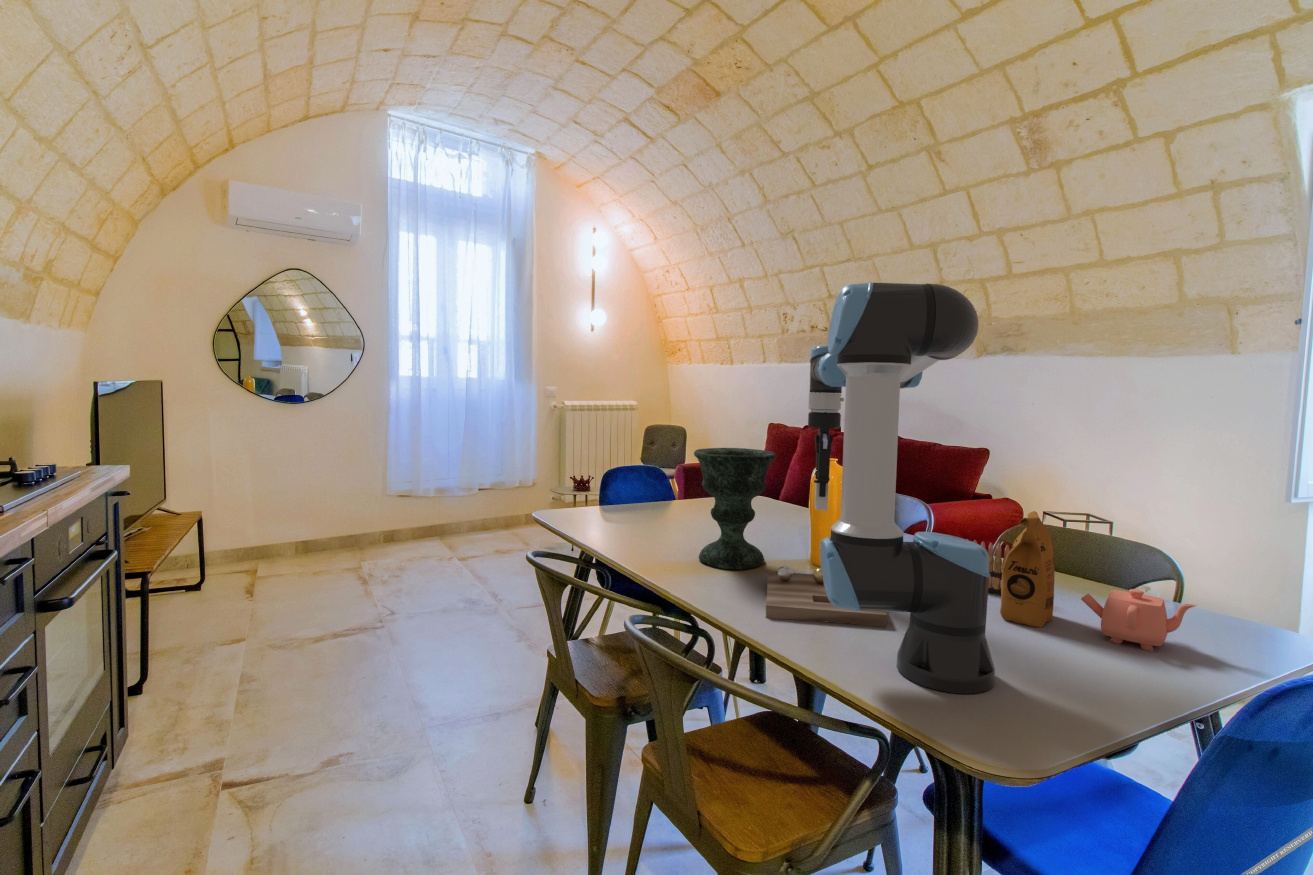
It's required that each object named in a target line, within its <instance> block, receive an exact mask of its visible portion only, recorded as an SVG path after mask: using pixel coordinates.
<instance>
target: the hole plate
mask: <svg viewBox="0 0 1313 875" xmlns="http://www.w3.org/2000/svg"><path fill="white" fill-rule="evenodd" d="M766 585H767V586H766V603H765V604H766V605H765V618H774V619H783V620H784V619H785V620H797V621H798V620H799V621H807V620H808V622H809V621H810V622H820V621H828V622H827V623H832V622H839V623H838V624H844V623H850V624H849V625H858V626H872V627H882V628H883V627H885V628H887V627H888V613H887V611H866V610H860V611H856V610H851V609H841V608H837V607H835V606H833V605H832V604H831V603H830V601H829V599H828V597H827V594H826V591H825V587H824V583H817V582H816V581H815V580H814V579H813V573H812V574H811V573H799V572H797V573H796V572H793V576H792V578H791V579H790V580H788V581H783V580H781V579H780V578H779V577H778V571H771V570H770V571H769V570H768V571H767V583H766Z"/></svg>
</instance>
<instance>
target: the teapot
mask: <svg viewBox="0 0 1313 875" xmlns="http://www.w3.org/2000/svg"><path fill="white" fill-rule="evenodd" d="M1107 596H1108V597H1107V599H1106V601H1105V604H1104V606H1102V605H1101V604H1100V603H1099V602H1098V601H1097V600H1096V599H1095V598H1094V597H1093V596H1092V595H1091V594H1090V593H1087V594H1085V595H1084V596H1083V597H1081V599H1080V600H1082V602H1083V603H1084V604H1086V606H1088V608H1090V610H1091V611H1093V612H1094V614H1096V615H1097V616H1098V617H1099V618H1100V620H1101V622H1100V629H1101V632H1102V635H1104V636H1106V637H1107V636H1108V637H1110V639H1109V642H1111V643H1113V644H1116V645H1122V644H1123V642H1124V641H1127V642H1131V643H1137V644H1139V646H1140V649H1142V650H1145V651H1150V652H1153V651H1155V650H1154V647H1162V646H1163V645H1164V643H1165V641H1166V640H1167V636H1168V633H1172V632H1174V631H1177V630H1178V628H1180V626H1181V624H1182V622H1183V618H1184V616H1185V614H1186V612H1187V611H1188V610H1189V609H1192V608H1194V607H1197V606H1198V604H1194V603H1193V604H1192V603H1183V604H1181V605H1179V606H1178V607H1177V609H1176V612H1175V614H1174V615H1173V616H1172V617H1170V618H1168V615H1167V614H1168V613H1167V608H1166V603H1165V599H1164V598H1162V597H1157V596H1153V595H1148V594H1145V592H1144V591H1143V590H1140V589H1134V588H1130V589H1129V591H1125V590H1119V589H1112V590H1111V591H1110V592H1109V594H1108V595H1107Z"/></svg>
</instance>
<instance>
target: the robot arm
mask: <svg viewBox="0 0 1313 875" xmlns="http://www.w3.org/2000/svg"><path fill="white" fill-rule="evenodd" d="M829 321H830V322H829V325H828V326H829V328H828V334H827V345H815V346H813V347H812V348H811V350H810V351H811V352H810V359H809V363H810V365H809V367H810V368H809V393H808V410H810V411H809V412H808V418H807V426H808V428H812V429H818V431H817V434H815V435H814V442H815V447H814V450H815V472H814V475H815V476H814V477H815V479H814V480H813V482H814V486H815V487H814V507H815V508H814V509H815V511H826V512H828V506H829V505H828V504H829V502H828V501H829V500H828V498H829V482H830V481H831V480H830V465H831V464H830V463H831V454H832V443H833V440H834V439H833V438H834V437H833V436H832V435H830V434H831V431H830V429H832V430H833V429H835V430H836V429H840V428H841V424H842V423H841V417H842V414H841V412H839V411H841V409H842V403H843V402H844V421H843V423H844V424H843V445H842V448H843V449H842V451H843V452H842V473H841V474H842V475H841V478H842V479H841V499H840V501H841V502H840V503H841V504H840V517H839V519H838V520H836V522H835V523H833V524H832V525H831V527H830V536H829V537H828V536H827V537H825V538H822V539H821V540H820V542H819V546H820V548H819V558H820V568H821V569H822V576H823V582H824V587H825V591H826V594H827V597H828V599H829V601H830V603H831V604H832V605H833V606H835V607H837V608H841V609H851V610H856V611H860V610H866V611H886V612H894V613H910V614H909V624H908V627H907V629H906V631H905V633H904V636H903V639H902V641H901V643H900V646H899V648H898V650H897V653H896V669H897V670H898V672H899V673H900V674H901V675H902V676H903V677H904V678H906V679H908V680H909V681H911V682H914V683H916V684H918V685H919V686H923V687H926V688H929V689H932V690H937V691H941V692H945V693H954V694H979V693H984V692H986V691H989V690H990V689H992V688H993V687H994V686H995V679H996V677H995V676H996V670H995V669H996V668H995V665H994V661H993V658H992V654H991V651H990V646H989V644H988V640H987V637H986V631H987V630H986V626H987V611H988V601H989V600H988V599H989V598H988V596H989V593H988V587H989V578H990V573H989V555H988V550H987V549H986V547H985V548H983V547H982V546H981V544H978V542H977V543H974V541H972V540H969V539H968V540H966V539H967V538H966V539H965V538H962V537H959V536H955V535H950V534H944V533H939V532H932V531H917V532H915V533H914V534H913V537H912V541H904V530H902V529H901V527H900V526H899V525H898V524H897V523H896V522H895V512H896V490H897V488H896V487H897V486H896V485H897V466H898V464H897V462H898V443H899V440H898V439H899V418H900V417H899V416H900V415H899V414H900V394H901V393H900V392H901V390H902V389H906V388H908V389H910V388H913V389H914V388H916V387H918V386H919V385H920V383H921V381H922V379H923V373H924V371H925V370H927V369H928V368H930V367H931V366H933V365H934V364H936V363H938V362H939V361H948V360H951V359H953V358H956V357H958V356H959V355H962V354H963V353H964V352H965V351H967V350H968V349H969V348H970V347H971V345H972V344H974V342H975V339H976V338H977V335H978V332H979V331H978V330H979V316H978V313H977V311H976V308H975V306H974V305H973V303H972V302H971V301H970V299H968V297H966V296H965V294H963V293H961V292H960V291H958V290H957V289H955V288H953V287H950V286H948V285H943V284H940V283H939V284H938V283H898V282H897V283H896V282H894V283H893V282H871V281H870V282H866V283H853V284H852V283H851V284H847V285H845V286H843V288H841V290H840V291H839V293H838V295H837V297H836V299H835V303H834V306H833V308H832V312H831V317H830V320H829ZM843 387H844V388H845V395H844V397H842V394H843V392H842V390H843V389H842V388H843ZM841 402H842V403H841ZM816 470H817V471H816Z"/></svg>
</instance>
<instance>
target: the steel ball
mask: <svg viewBox="0 0 1313 875" xmlns="http://www.w3.org/2000/svg"><path fill="white" fill-rule="evenodd" d="M777 572H778V577H779V578H780V579H781V580H783V581H788V580H790V579H791V578H792V576H793V573H794V572H793V569H792V568H791V567H790V566H788V565H781V566H780V567H779V568H778V569H777Z"/></svg>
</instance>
